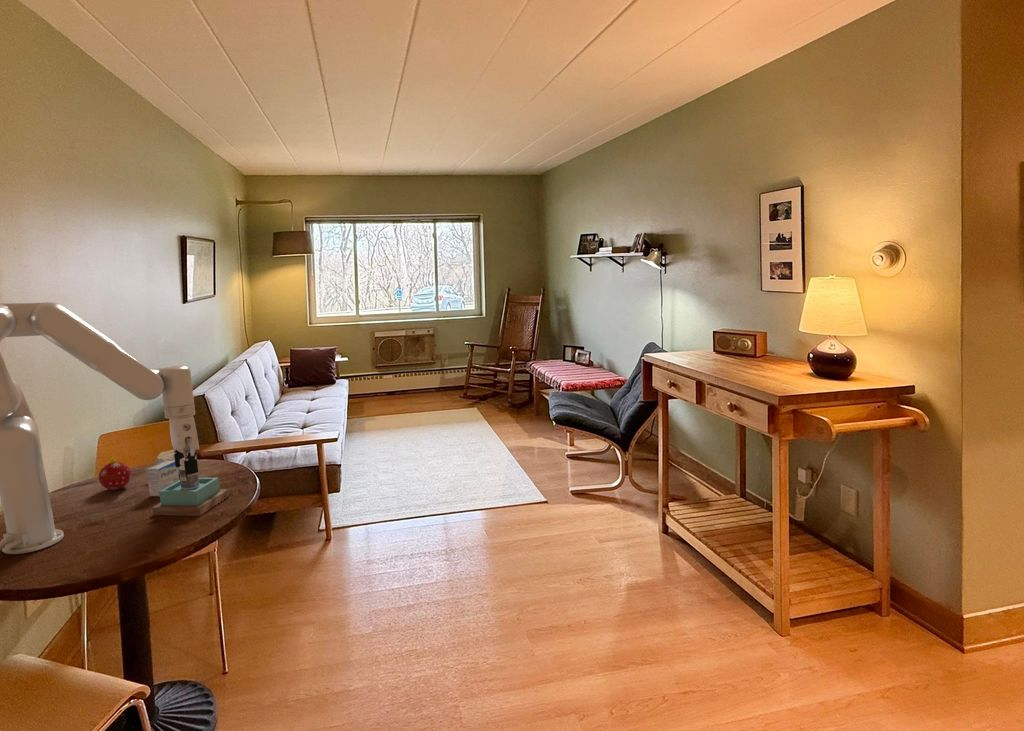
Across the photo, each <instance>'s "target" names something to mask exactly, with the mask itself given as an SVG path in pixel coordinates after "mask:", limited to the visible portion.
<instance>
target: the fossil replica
mask: <svg viewBox="0 0 1024 731" xmlns="http://www.w3.org/2000/svg"><path fill="white" fill-rule="evenodd" d="M174 454H176V453H174V449H170V450H166V451H161V452H160V453H159V454H158V455H157V456H156V457H155V460H154V464H155V465H157V464H160V463H162V462H164V461H175V458H174ZM187 455H188V453H187ZM155 465H154V466H155ZM178 474H179V476H180V473H179V467H178Z"/></svg>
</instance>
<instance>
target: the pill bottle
mask: <svg viewBox="0 0 1024 731" xmlns="http://www.w3.org/2000/svg"><path fill="white" fill-rule="evenodd" d="M184 461H185V458H182V459H180V465H181V466H180V467H179V473H180V475H179V480H180V483H181V489H183V490H191V489H195V488H197V487H199V478H200V477H199V472H198V473H195V474H190V475H186V474H185V467H184Z"/></svg>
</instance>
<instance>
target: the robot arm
mask: <svg viewBox="0 0 1024 731" xmlns="http://www.w3.org/2000/svg"><path fill="white" fill-rule="evenodd" d="M38 336H42V337H43V338H45V340H46V339H47V340H48V341H49V342H50V343H52V344H54V345H55V346H57V347H59V348H60V349H62V350H63V351H65V352H66V353H68V354H69V355H71V356H72V357H73V358H75V359H77V360H79V362H81V363H82V364H84V365H86V367H89V368H90V369H92V370H93V371H95V372H98V373H100V374H101V375H102V376H104V377H105V378H107V379H108V380H110V381H112V382H113V383H114V384H116V385H118V386H119V387H121V388H122V389H123V390H125V391H127V392H128V393H130V394H131V395H133V396H135V397H136V398H137V399H140V400H143V401H152V400H155V399H157V398H159V397H160V396H161V395H162V402H163V411H164V417H165V419H169V420H168V423H169V424H168V425H169V435H170V441H171V446H172V449H173V450H174V453H176V454H174V458H175V466H176V467H180V466H181V465H180V459H182V458H185V461H184V467H185V474H186V475H190V474H195V473H198V474H199V466H198V459H197V452H196V451H199V449H200V445H199V443H200V442H199V438H198V432H197V427H196V421H195V417H194V416H195V415H196V409H195V407H196V406H195V399H194V390H193V382H192V374H191V369H190V367H188V366H187V365H173V366H172V365H171V366H167V367H163V368H162V367H161V368H154V367H153V368H152V367H151V368H150V367H149V368H148V367H147V366H146V365H144V364H143V363H142V362H140V361H138V360H137V359H136V358H134V357H133V356H131V355H130V354H128V353H127V352H126V351H125V350H123V349H122V348H121V347H120V346H119V345H118V344H117V343H115V342H114V341H113V340H112V339H111V338H109V337H108V336H107V335H106V334H104V333H102V332H100V330H98V329H96V328H95V327H93V325H91V324H90V323H87V322H86V321H84V320H83V319H82V318H80V317H79V316H78V315H76V314H75V313H74V312H72V311H71V310H69V309H67V308H66V307H64V306H63V305H62V304H59V303H57V302H50V301H49V302H32V303H31V302H30V303H29V302H27V303H26V302H25V303H22V302H18V303H0V343H1V342H2V340H4V339H5V338H11V337H12V338H18V337H21V338H22V337H38ZM23 392H24V391H23V390H22V388H21V386H20V384H18V382H17V381H15V379H13V378H12V377H11V375H10V373H9V371H8V367H7V366H6V362H5V360H4V358H3V356H2V354H1V352H0V501H1V502H0V503H1V508H2V512H3V518H4V524H5V529H6V533H3V534H2V535H3V538H2V539H1V541H0V551H2V552H3V553H4V554H7V555H21V554H28V553H32V552H36V551H39V550H42V549H45V548H49V547H51V546H53V545H55V544H57V543H58V542H59V543H60V541H61V540H63V538H64V537H65V534H64V531H63V530H62V529H59V528H56V527H55V526H56V525H55V522H54V514H53V508H52V504H51V499H50V493H49V487H48V482H47V481H48V479H47V475H46V470H45V464H44V459H43V452H42V447H41V438H40V431H39V427H38V425H37V422H36V420H35V418H34V415H33V413H32V411H31V408H30V406H29V403H28V401H27V399H26V397H25V394H24V393H23ZM187 454H188V455H187Z"/></svg>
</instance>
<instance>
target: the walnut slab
mask: <svg viewBox="0 0 1024 731" xmlns="http://www.w3.org/2000/svg"><path fill="white" fill-rule="evenodd" d="M228 496H229V497H230V491H229V489H228V488H227V489H226V488H225V489H224V488H220V491H219V492H218V493H216V494H215V495H213V496H212V497H210V498H208V499H207V500H205V501H204V502H202V503H201V504H199V505H161V502H159V503H157V504H156V505H154V506H152V513H153V516H191V517H192V516H193V517H194V516H199V517H200V516H202V515H204V514H205V513H207V512H208V511H209V510H211V509H213V508H214V507H216V506H217V505H219V504H220V503H222V502H223V501H225V500H226V499H228V498H229V497H228ZM227 497H228V498H227ZM225 498H226V499H225ZM224 499H225V500H224ZM221 501H222V502H221ZM218 503H219V504H218ZM215 505H216V506H215Z"/></svg>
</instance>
